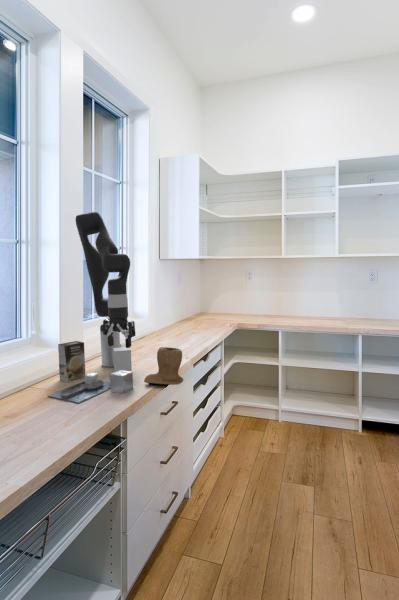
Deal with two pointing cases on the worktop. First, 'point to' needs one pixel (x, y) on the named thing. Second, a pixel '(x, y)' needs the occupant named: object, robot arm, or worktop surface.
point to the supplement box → (122, 359)
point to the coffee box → (71, 361)
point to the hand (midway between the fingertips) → (119, 346)
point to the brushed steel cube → (121, 381)
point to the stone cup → (167, 367)
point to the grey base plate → (83, 390)
